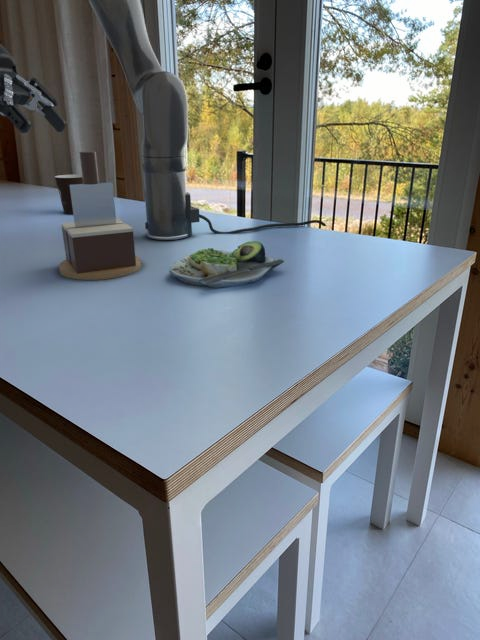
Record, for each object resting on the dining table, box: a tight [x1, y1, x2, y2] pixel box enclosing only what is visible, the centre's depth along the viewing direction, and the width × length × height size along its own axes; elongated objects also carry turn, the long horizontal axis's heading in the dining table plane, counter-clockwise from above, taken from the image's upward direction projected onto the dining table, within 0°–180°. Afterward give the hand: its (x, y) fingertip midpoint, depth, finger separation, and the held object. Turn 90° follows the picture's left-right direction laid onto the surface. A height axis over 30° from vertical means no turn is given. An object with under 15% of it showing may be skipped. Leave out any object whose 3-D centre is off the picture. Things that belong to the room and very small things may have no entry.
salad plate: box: [168, 240, 285, 289], centre depth 80 cm, size 19×18×5 cm
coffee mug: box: [54, 174, 83, 216], centre depth 135 cm, size 12×9×10 cm
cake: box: [58, 217, 142, 281], centre depth 83 cm, size 14×14×8 cm
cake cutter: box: [70, 150, 117, 227], centre depth 79 cm, size 7×3×12 cm, turn 118°
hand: (46, 128), depth 78 cm, fingers open, 8 cm apart
